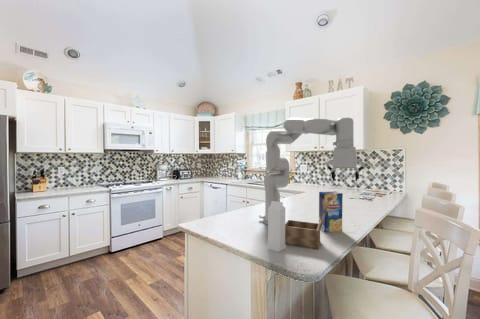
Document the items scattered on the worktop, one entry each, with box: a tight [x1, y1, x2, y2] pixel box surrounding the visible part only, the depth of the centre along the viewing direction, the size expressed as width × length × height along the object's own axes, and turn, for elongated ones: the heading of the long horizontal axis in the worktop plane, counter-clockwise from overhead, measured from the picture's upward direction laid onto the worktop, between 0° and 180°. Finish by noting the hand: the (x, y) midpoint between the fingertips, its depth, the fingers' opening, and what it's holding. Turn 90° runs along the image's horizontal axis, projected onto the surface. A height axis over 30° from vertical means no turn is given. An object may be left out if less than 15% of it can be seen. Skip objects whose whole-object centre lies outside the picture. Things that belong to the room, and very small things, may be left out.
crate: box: [285, 219, 321, 251], centre depth 113 cm, size 16×12×9 cm
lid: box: [319, 193, 332, 232], centre depth 109 cm, size 16×12×2 cm
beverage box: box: [318, 191, 343, 233], centre depth 134 cm, size 7×11×22 cm, turn 99°
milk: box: [267, 201, 286, 253], centre depth 106 cm, size 6×6×22 cm
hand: (344, 180), depth 108 cm, fingers open, 9 cm apart
